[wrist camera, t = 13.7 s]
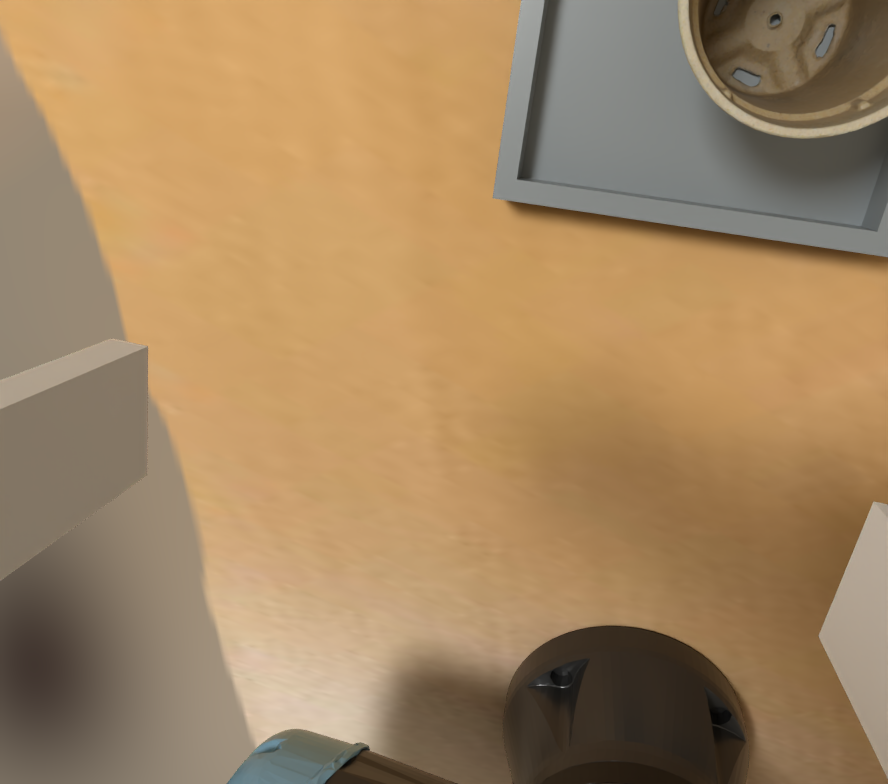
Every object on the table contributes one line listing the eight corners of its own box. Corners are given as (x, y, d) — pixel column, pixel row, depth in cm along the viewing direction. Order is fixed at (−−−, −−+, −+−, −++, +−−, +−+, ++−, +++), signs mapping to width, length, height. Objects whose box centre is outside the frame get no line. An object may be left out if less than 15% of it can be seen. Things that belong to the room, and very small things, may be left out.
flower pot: (654, 144, 33) (673, 148, 25) (660, -89, 30) (684, -169, 22) (874, 129, 31) (971, 127, 23) (906, -123, 28) (1031, -225, 20)
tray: (869, 247, 34) (893, 258, 31) (500, 193, 36) (492, 198, 33) (1030, -218, 27) (1080, -258, 24) (565, -245, 29) (562, -284, 27)
